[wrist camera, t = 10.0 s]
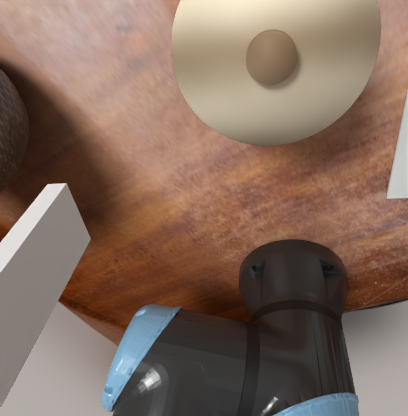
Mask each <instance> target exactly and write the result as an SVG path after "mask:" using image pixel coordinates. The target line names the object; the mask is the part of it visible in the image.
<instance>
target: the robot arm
mask: <svg viewBox="0 0 408 416" xmlns="http://www.w3.org/2000/svg"><path fill="white" fill-rule="evenodd" d="M90 240H91V238H90V236H89V234H88V231H87V229H86V227H85V224H84V222H83V220H82V218H81V215H80V213H79V211H78V208H77V206H76V204H75V202H74V199H73V197H72V195H71V192H70V190H69V188H68V185H67V183H62V184H47V185H46V187H45V188H44V189H43V190H42V192H41V193H40V194H39V195H38V197H37V198H36V199H35V200H34V202H33V203H32V204H31V205H30V207H29V208H28V209H27V210H26V212H25V213H24V214H23V215H22V216H21V218H20V219H19V220H18V221H17V223H16V224H15V225H14V226H13V228H12V229H11V230H10V231H9V233H8V234H7V235H6V236H5V238H4V239H3V240H2V241H1V242H0V407H1V406H2V404H3V402H4V400H5V399H6V397H7V395H8V393H9V391H10V389H11V387H12V386H13V384H14V382H15V380H16V378H17V376H18V374H19V372H20V371H21V369H22V367H23V365H24V363H25V361H26V359H27V358H28V356H29V354H30V352H31V350H32V348H33V346H34V344H35V343H36V341H37V339H38V337H39V335H40V333H41V331H42V329H43V327H44V326H45V324H46V322H47V320H48V318H49V316H50V314H51V313H52V311H53V309H54V307H55V305H56V303H57V301H58V299H59V298H60V296H61V294H62V292H63V290H64V288H65V286H66V284H67V283H68V281H69V279H70V277H71V275H72V273H73V271H74V269H75V268H76V266H77V264H78V262H79V260H80V258H81V256H82V255H83V253H84V251H85V249H86V247H87V245H88V243H89V241H90ZM239 290H240V294H241V297H242V300H243V303H244V305H245V308H246V311H247V314H248V317H249V320H250V323H248V322H243V321H239V320H234V319H228V318H223V317H218V316H213V315H209V314H204V313H199V312H195V311H190V310H185V309H183V307H181V306H178V307H170V306H163V305H157V304H149V305H146V306H144V307H142V308H141V309H140V310H139V311H138V312H137V313H136V314H135V316H134V317H133V319H132V320H131V322H130V324H129V326H128V328H127V330H126V332H125V334H124V336H123V338H122V340H121V343H120V345H119V347H118V350H117V352H116V354H115V357H114V360H113V362H112V365H111V368H110V371H109V373H108V377H107V381H106V385H105V388H104V391H103V394H102V400H101V403H102V406H103V407H104V408H105V409H107V411H109V412H112V411H113V410H114V411H113V416H359V412H358V397H357V396H356V393H355V388H354V383H353V378H352V373H351V369H350V363H349V358H348V353H347V348H346V343H345V338H344V333H343V328H342V323H341V317H342V313H343V308H344V303H345V298H346V293H347V277H346V273H345V269H344V265H343V263H342V261H341V260H340V259H339V257H338V256H337V255H336V254H335V253H333V252H332V251H331V250H329V249H328V248H326V247H324V246H322V245H319V244H317V243H313V242H309V241H304V240H281V241H276V242H272V243H268V244H265V245H263V246H261V247H259V248H257V249H255V250H254V251H253V252H251V253H250V254H249V255H248V256H247V257H246V258H245V259H244V261H243V263H242V265H241V267H240V272H239Z"/></svg>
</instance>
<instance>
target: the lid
mask: <svg viewBox="0 0 408 416" xmlns="http://www.w3.org/2000/svg"><path fill="white" fill-rule="evenodd" d="M380 36H381V20H380V10H379V6H378V1H377V0H180V3H179V6H178V9H177V11H176V15H175V19H174V23H173V28H172V37H171V56H172V63H173V69H174V73H175V77H176V80H177V83H178V85H179V88H180V90H181V92H182V94H183V96H184V98H185V100H186V101H187V103H188V104H189V106H190V107H191V108H192V110H193V111H194V112H195V113H196V115H197V116H198V117H199V118H200V119H201V120H202V121H203V122H205V123H206V124H207V125H208V126H209V127H211V128H212V129H214V130H215V131H217V132H218V133H220V134H222V135H224V136H226V137H228V138H230V139H233V140H236V141H239V142H242V143H247V144H251V145H261V146H275V145H283V144H289V143H293V142H297V141H300V140H302V139H305V138H308V137H310V136H312V135H314V134H316V133H318V132H320V131H322V130H323V129H325V128H327V127H328V126H330V125H331V124H332V123H334V122H335V121H336V120H337V119H339V118H340V117H341V116H342V115H343V114H344V113H345V112H346V111H347V110H348V109H349V108H350V107H351V106H352V105H353V103H354V102H355V101H356V99H357V98H358V97H359V96H360V94H361V92H362V91H363V89H364V87H365V86H366V84H367V82H368V80H369V78H370V76H371V74H372V71H373V69H374V66H375V62H376V59H377V56H378V51H379V46H380Z"/></svg>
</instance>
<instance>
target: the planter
mask: <svg viewBox="0 0 408 416" xmlns="http://www.w3.org/2000/svg"><path fill="white" fill-rule="evenodd" d="M29 131H30V128H29V119H28V115H27V111H26V108H25V105H24V103H23V100H22V98H21V96H20V94H19V92H18V91H17V89H16V87H15V86H14V84H13V82H12V81H11V80H10V78H9V77H8V76H7V75H6V74H5V73H4V72H3V71H2V70H1V69H0V195H1V193H2V192H3V191H4V190H5V188H6V187H7V185H8V184H9V182H10V181H11V179H12V178H13V176H14V175H15V173H16V172H17V170H18V168H19V167H20V165H21V163H22V161H23V159H24V156H25V153H26V150H27V147H28V142H29Z"/></svg>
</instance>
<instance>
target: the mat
mask: <svg viewBox="0 0 408 416" xmlns="http://www.w3.org/2000/svg"><path fill="white" fill-rule="evenodd" d="M386 198H387V199H393V198H408V88H407V93H406V98H405V103H404V108H403V113H402V119H401V124H400V129H399V134H398V139H397V144H396V149H395V154H394V159H393V164H392V169H391V174H390V179H389V184H388V189H387V194H386Z"/></svg>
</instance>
